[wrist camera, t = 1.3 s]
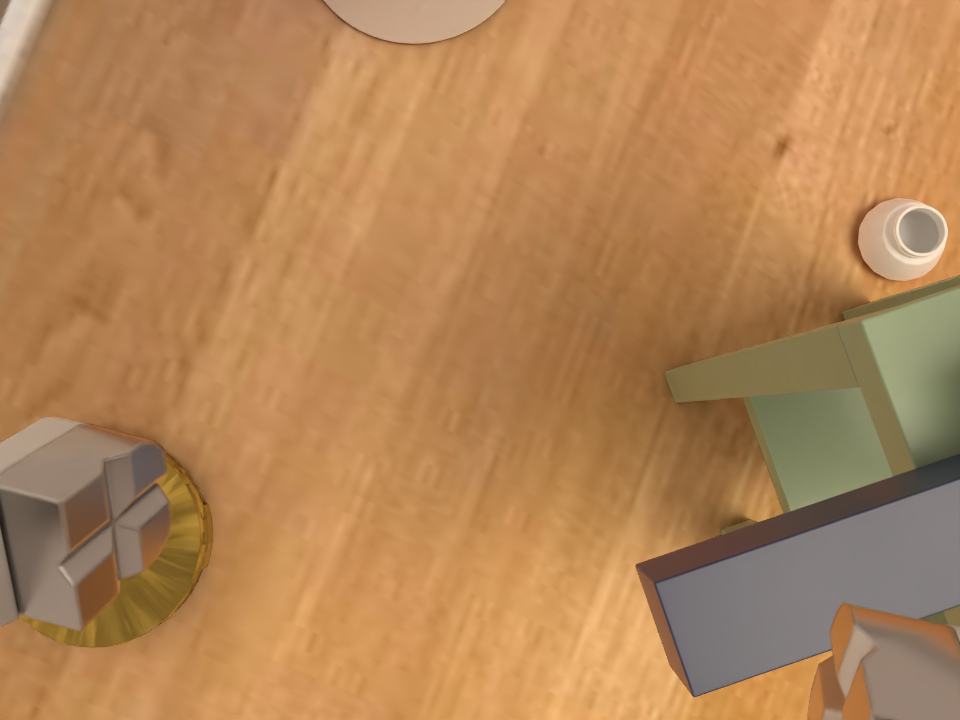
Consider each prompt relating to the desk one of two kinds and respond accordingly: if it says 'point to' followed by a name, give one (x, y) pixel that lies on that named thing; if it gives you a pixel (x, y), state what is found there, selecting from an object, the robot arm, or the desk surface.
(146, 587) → the gold round flat disc
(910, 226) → the lidless jar
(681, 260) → the desk surface
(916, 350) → the stand
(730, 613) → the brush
